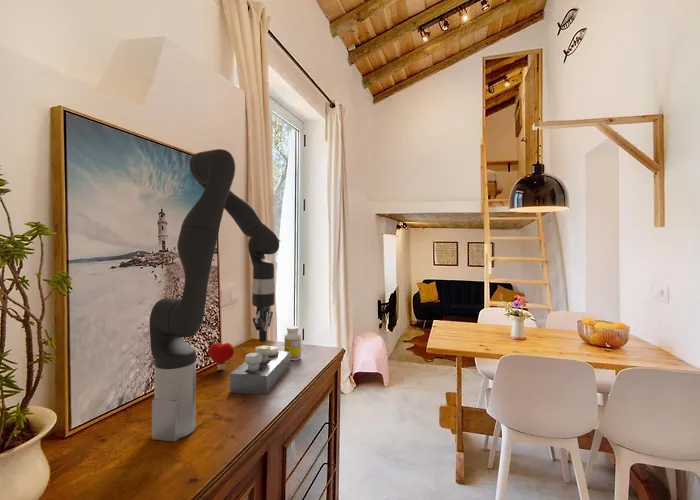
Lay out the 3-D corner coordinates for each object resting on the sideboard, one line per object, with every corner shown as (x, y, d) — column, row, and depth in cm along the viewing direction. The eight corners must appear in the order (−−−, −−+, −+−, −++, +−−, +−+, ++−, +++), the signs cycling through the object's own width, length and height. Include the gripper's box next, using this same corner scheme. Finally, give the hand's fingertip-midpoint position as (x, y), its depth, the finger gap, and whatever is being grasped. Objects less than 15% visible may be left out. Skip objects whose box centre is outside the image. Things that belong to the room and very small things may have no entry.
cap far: (275, 364, 125) (275, 350, 125) (261, 363, 126) (261, 350, 126) (280, 359, 130) (280, 346, 130) (266, 359, 131) (267, 345, 131)
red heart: (237, 367, 131) (237, 341, 130) (229, 374, 124) (229, 346, 123) (213, 366, 132) (213, 340, 131) (204, 373, 125) (204, 345, 124)
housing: (266, 395, 108) (266, 375, 108) (230, 392, 109) (230, 373, 109) (289, 367, 131) (290, 351, 131) (259, 365, 133) (259, 350, 133)
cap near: (258, 374, 109) (258, 358, 109) (242, 373, 110) (242, 357, 110) (264, 368, 115) (264, 353, 114) (249, 367, 115) (249, 352, 115)
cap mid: (267, 365, 117) (267, 350, 117) (252, 364, 118) (252, 349, 118) (272, 360, 122) (272, 346, 122) (258, 359, 123) (258, 345, 123)
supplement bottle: (282, 356, 143) (282, 326, 143) (298, 354, 146) (298, 324, 146) (286, 362, 137) (287, 330, 137) (302, 360, 140) (303, 328, 140)
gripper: (266, 294, 113) (266, 347, 113) (280, 289, 126) (279, 336, 126) (244, 294, 114) (244, 346, 114) (260, 288, 127) (260, 335, 127)
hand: (263, 341), depth 120 cm, fingers closed
